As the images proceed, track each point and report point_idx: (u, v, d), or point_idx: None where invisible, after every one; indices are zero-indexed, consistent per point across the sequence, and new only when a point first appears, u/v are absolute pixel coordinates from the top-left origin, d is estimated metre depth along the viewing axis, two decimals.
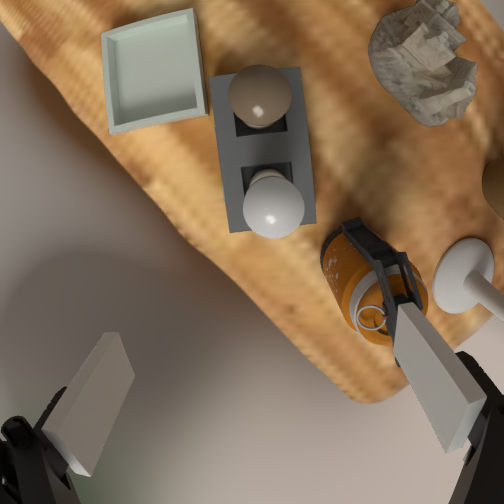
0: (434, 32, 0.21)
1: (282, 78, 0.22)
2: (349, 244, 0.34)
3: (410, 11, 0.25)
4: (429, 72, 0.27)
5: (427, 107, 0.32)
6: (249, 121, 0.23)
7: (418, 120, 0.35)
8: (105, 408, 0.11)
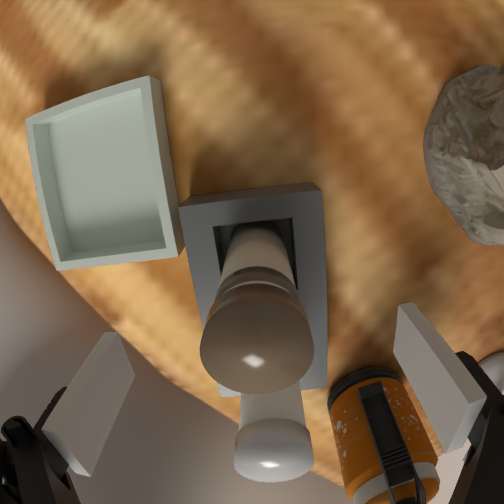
0: None
1: (300, 329, 0.13)
2: (363, 415, 0.26)
3: (498, 96, 0.16)
4: None
5: (491, 235, 0.22)
6: (239, 391, 0.14)
7: (473, 239, 0.26)
8: (105, 408, 0.11)
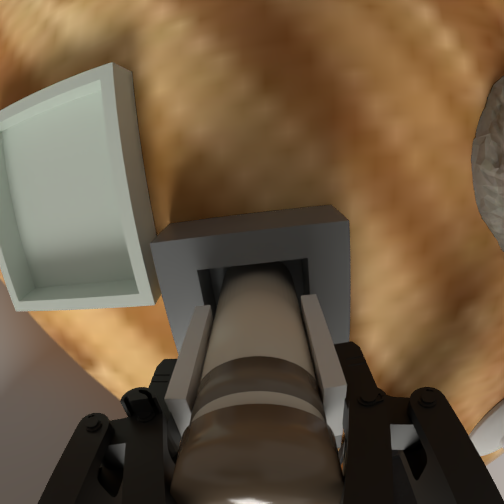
0: None
1: (328, 483, 0.06)
2: None
3: None
4: None
5: None
6: None
7: None
8: None
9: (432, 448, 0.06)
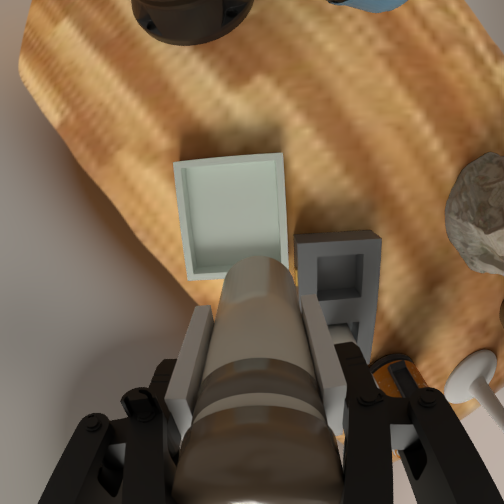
0: None
1: (329, 484, 0.06)
2: (393, 383, 0.39)
3: (495, 185, 0.30)
4: None
5: (483, 267, 0.36)
6: None
7: (471, 269, 0.40)
8: None
9: (432, 448, 0.06)
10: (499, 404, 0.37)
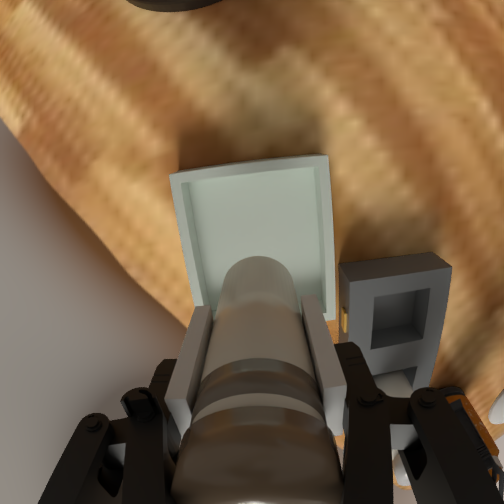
0: None
1: (328, 484, 0.06)
2: None
3: None
4: None
5: None
6: None
7: None
8: None
9: (432, 448, 0.06)
10: None
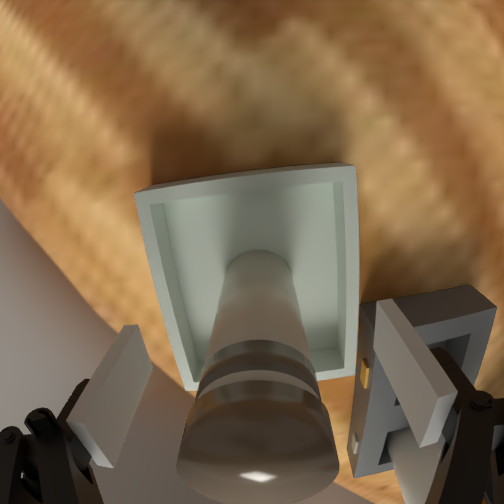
0: None
1: (322, 453, 0.07)
2: None
3: None
4: None
5: None
6: None
7: None
8: (127, 399, 0.12)
9: None
10: None
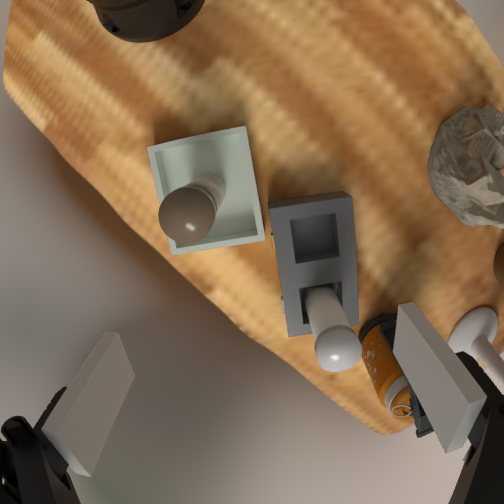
0: (498, 185, 0.27)
1: (203, 200, 0.26)
2: (384, 342, 0.41)
3: (472, 137, 0.31)
4: None
5: (474, 220, 0.37)
6: (179, 241, 0.28)
7: (464, 223, 0.41)
8: (105, 408, 0.11)
9: None
10: (502, 362, 0.38)
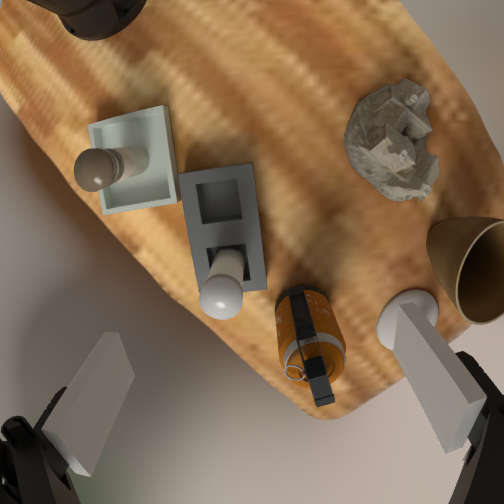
0: (396, 146, 0.31)
1: (104, 157, 0.31)
2: (291, 308, 0.45)
3: (381, 107, 0.36)
4: None
5: (393, 192, 0.42)
6: (87, 190, 0.32)
7: (388, 198, 0.46)
8: (105, 408, 0.11)
9: None
10: None
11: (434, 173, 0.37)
